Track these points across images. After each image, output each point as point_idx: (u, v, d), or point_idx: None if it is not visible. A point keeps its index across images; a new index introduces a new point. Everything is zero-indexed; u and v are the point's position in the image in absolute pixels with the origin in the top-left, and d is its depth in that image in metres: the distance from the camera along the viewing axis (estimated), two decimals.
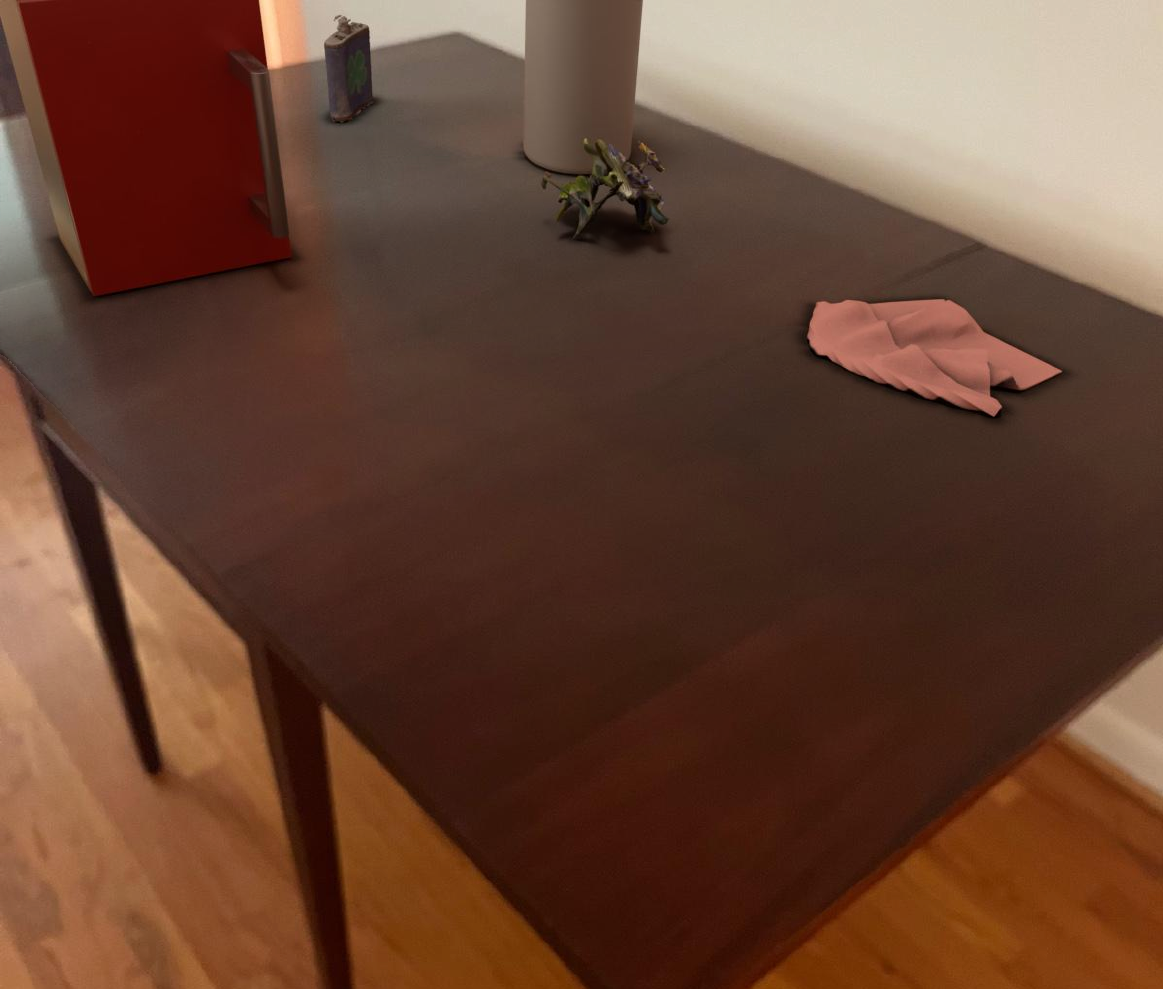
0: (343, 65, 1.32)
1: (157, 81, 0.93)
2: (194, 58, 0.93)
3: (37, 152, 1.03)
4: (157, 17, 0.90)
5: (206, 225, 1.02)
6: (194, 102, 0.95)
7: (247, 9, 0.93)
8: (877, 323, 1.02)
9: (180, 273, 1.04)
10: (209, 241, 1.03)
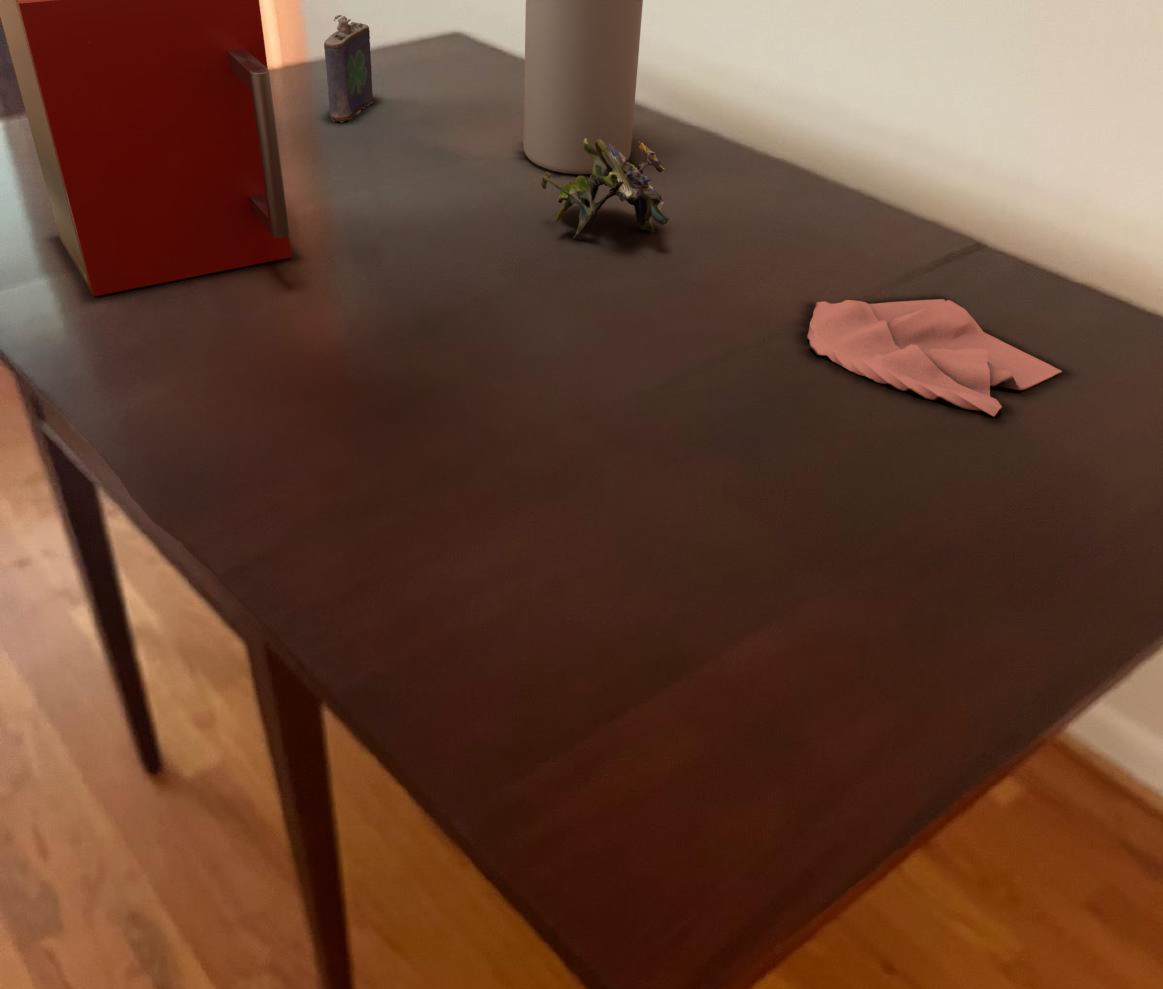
0: (343, 65, 1.32)
1: (157, 81, 0.93)
2: (194, 58, 0.93)
3: (37, 152, 1.03)
4: (157, 17, 0.90)
5: (206, 225, 1.02)
6: (194, 102, 0.95)
7: (247, 9, 0.93)
8: (877, 323, 1.02)
9: (180, 273, 1.04)
10: (209, 241, 1.03)
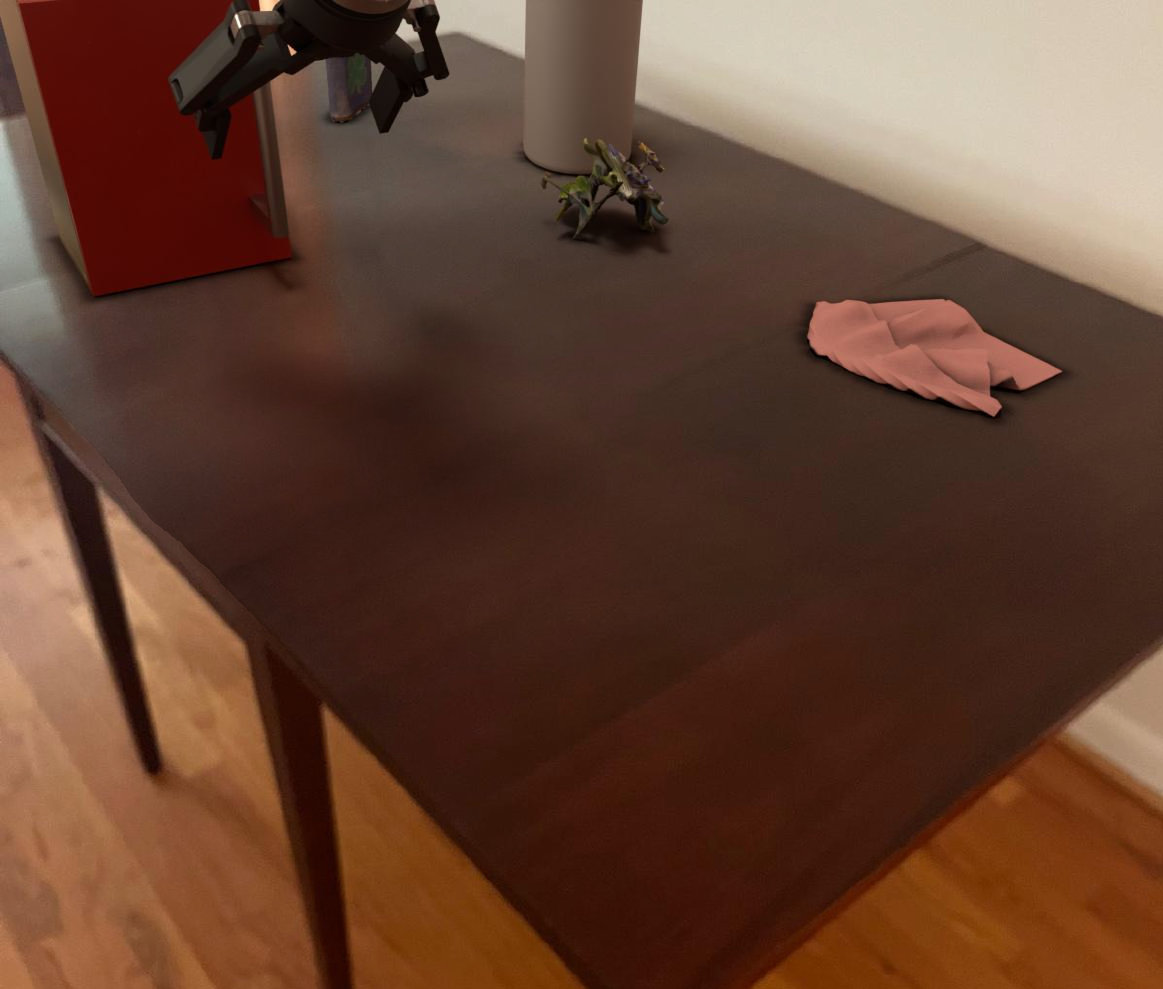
0: (343, 65, 1.32)
1: (157, 81, 0.93)
2: None
3: (37, 152, 1.03)
4: (157, 17, 0.90)
5: (206, 225, 1.02)
6: None
7: None
8: (877, 323, 1.02)
9: (180, 273, 1.04)
10: (209, 241, 1.03)
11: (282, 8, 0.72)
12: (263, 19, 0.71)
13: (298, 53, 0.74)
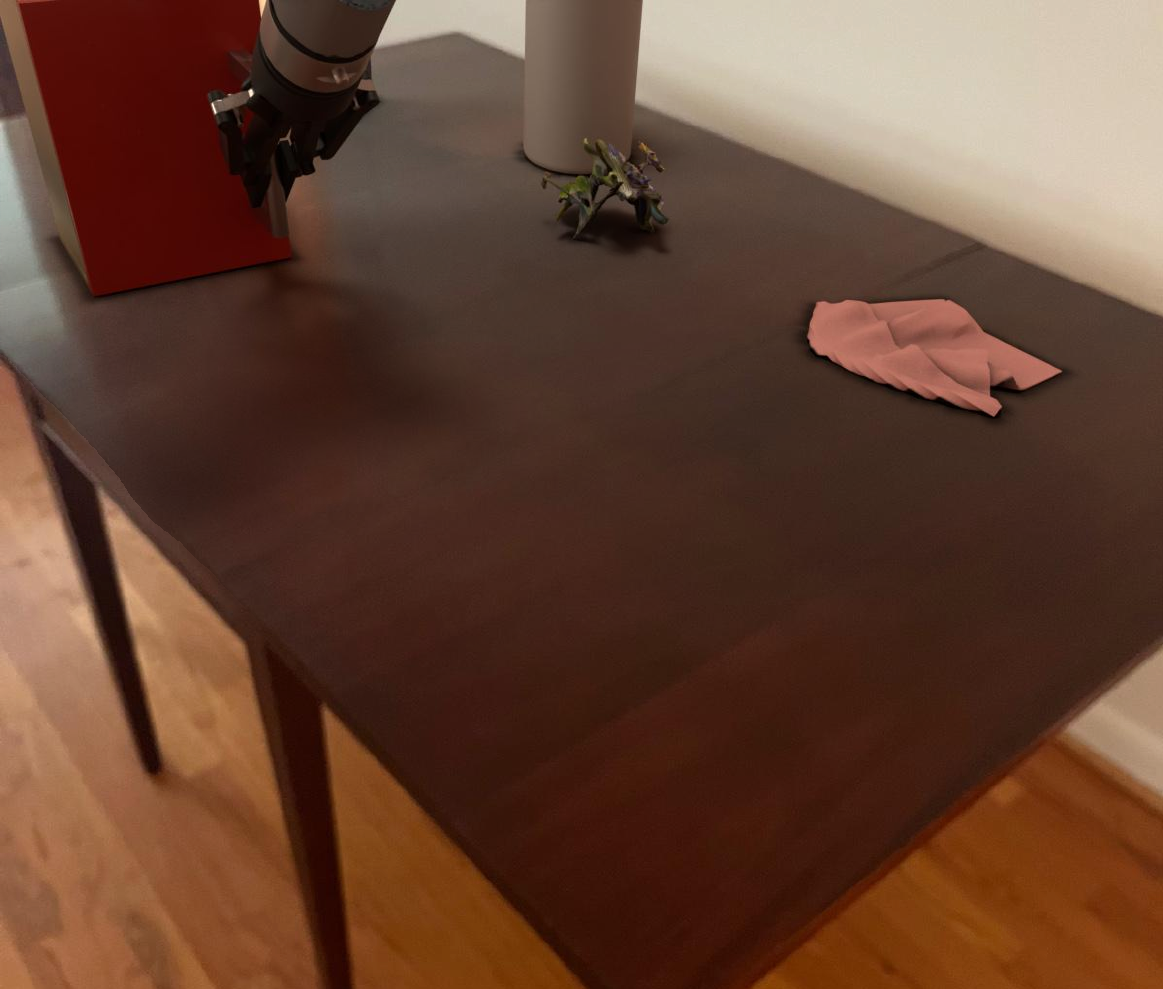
0: None
1: (157, 81, 0.93)
2: (194, 58, 0.93)
3: (37, 152, 1.03)
4: (157, 17, 0.90)
5: (206, 225, 1.02)
6: (194, 102, 0.95)
7: (247, 9, 0.93)
8: (877, 323, 1.02)
9: (180, 273, 1.04)
10: (209, 241, 1.03)
11: (250, 84, 0.82)
12: (231, 103, 0.83)
13: (274, 124, 0.86)
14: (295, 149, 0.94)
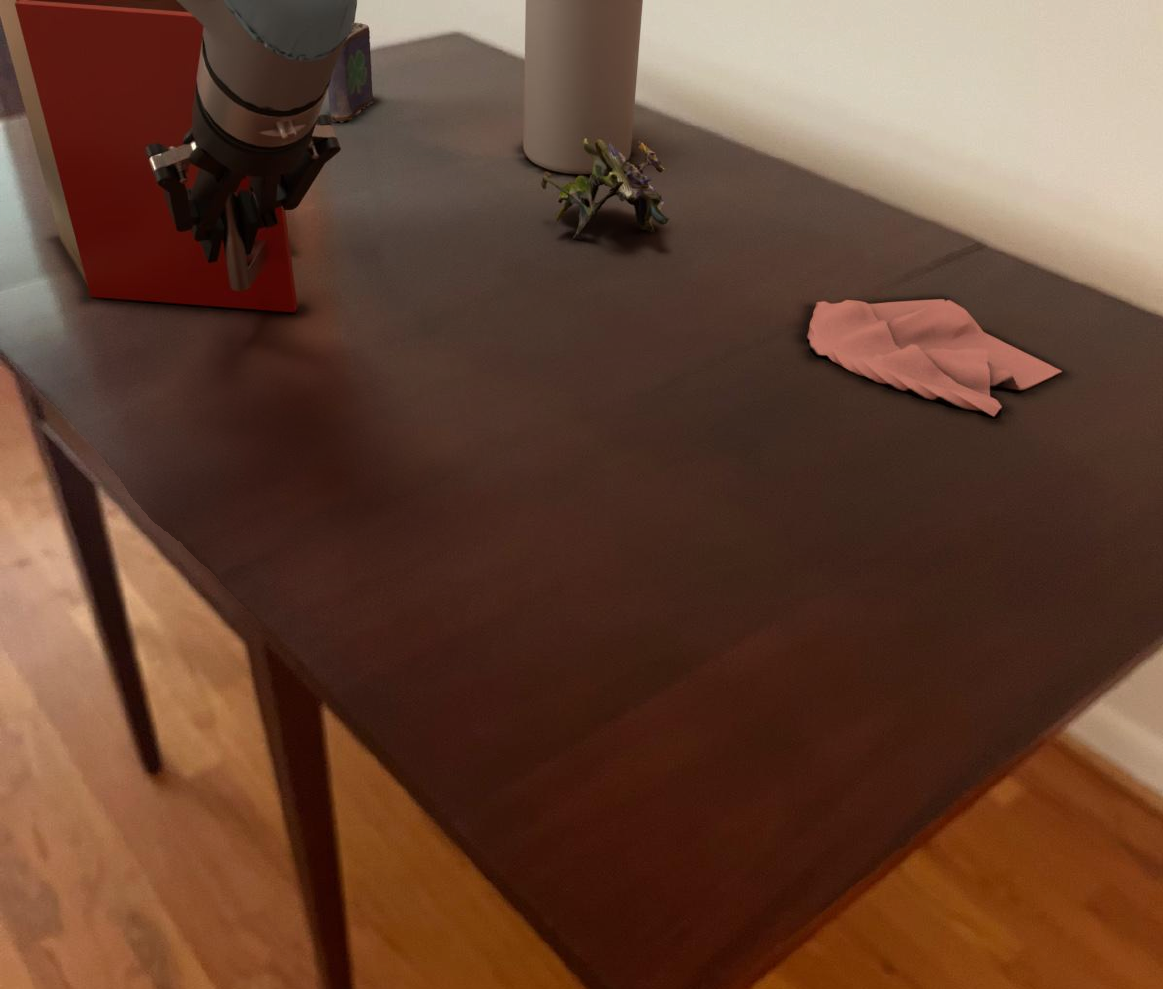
0: (343, 65, 1.32)
1: (151, 104, 0.89)
2: (189, 89, 0.88)
3: (37, 152, 1.03)
4: (150, 40, 0.86)
5: (202, 257, 0.97)
6: None
7: None
8: (877, 323, 1.02)
9: (176, 297, 1.00)
10: (206, 274, 0.98)
11: (192, 136, 0.74)
12: (172, 157, 0.75)
13: (222, 178, 0.78)
14: (255, 199, 0.86)
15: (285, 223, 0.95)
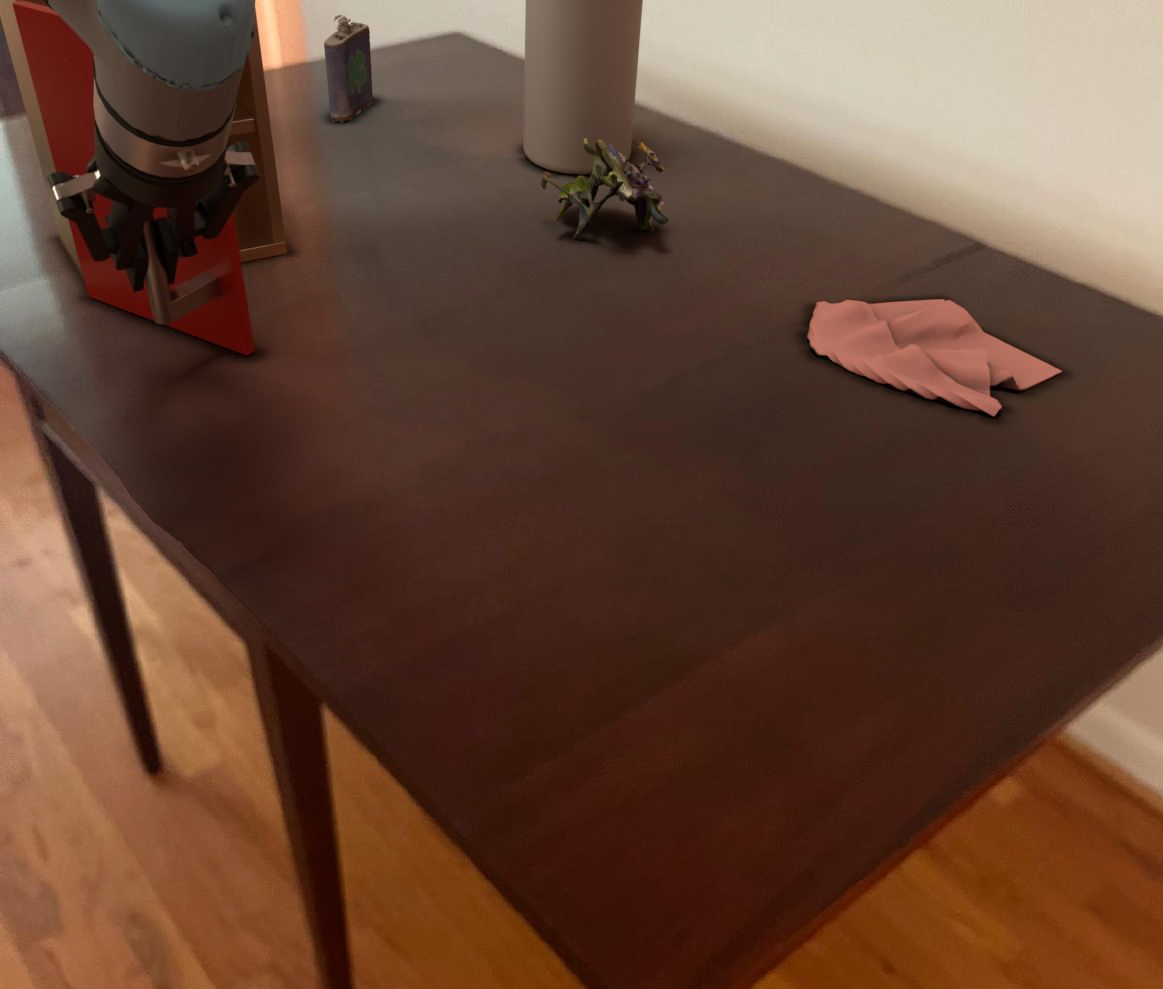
0: (343, 65, 1.32)
1: None
2: None
3: (37, 152, 1.03)
4: None
5: None
6: None
7: None
8: (877, 323, 1.02)
9: (152, 314, 0.98)
10: None
11: (96, 165, 0.70)
12: (75, 187, 0.70)
13: (132, 208, 0.73)
14: (173, 228, 0.82)
15: (237, 264, 0.90)
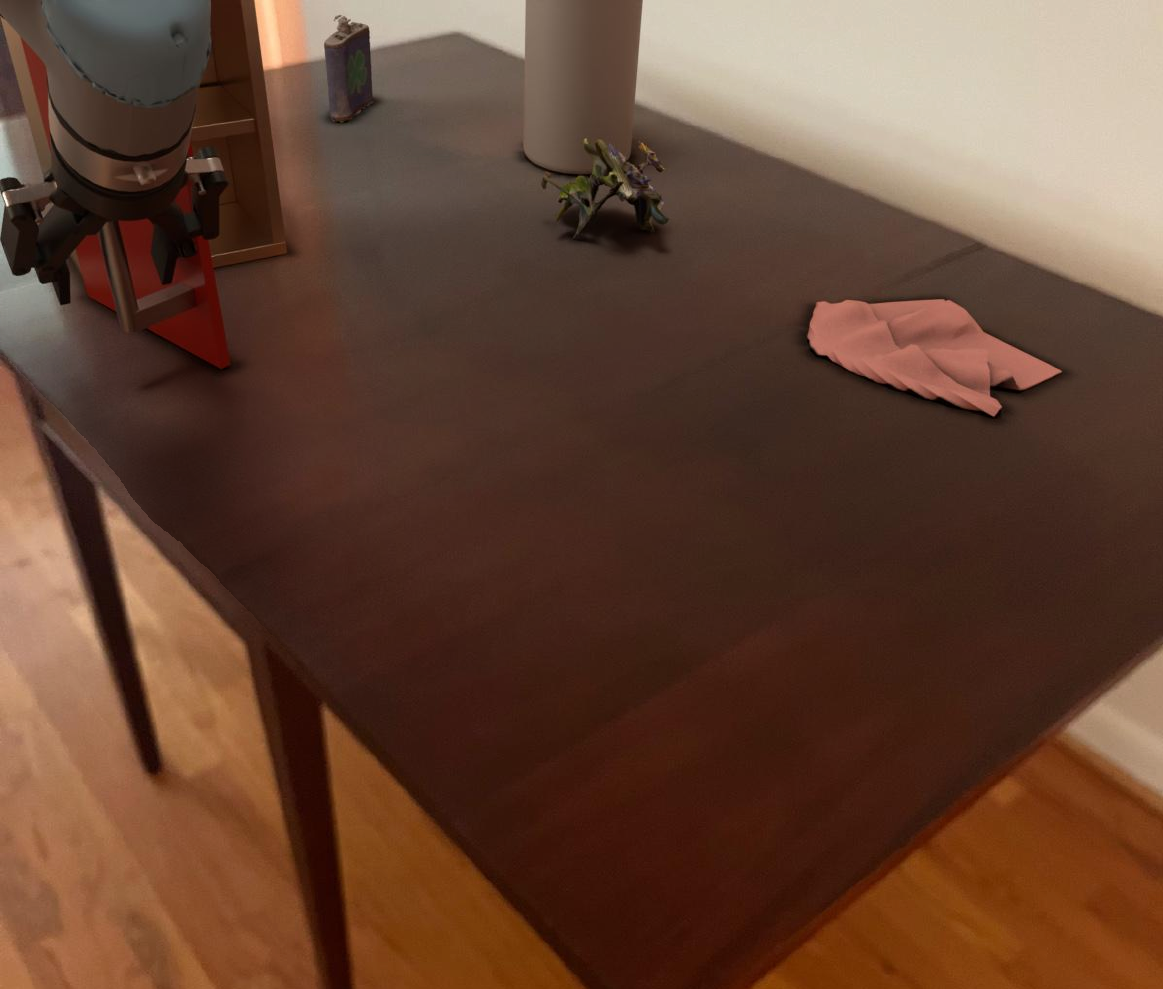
0: (343, 65, 1.32)
1: None
2: None
3: (37, 152, 1.03)
4: None
5: (152, 288, 0.93)
6: None
7: None
8: (877, 323, 1.02)
9: None
10: None
11: (53, 176, 0.69)
12: (30, 194, 0.69)
13: (84, 219, 0.72)
14: None
15: (210, 276, 0.88)
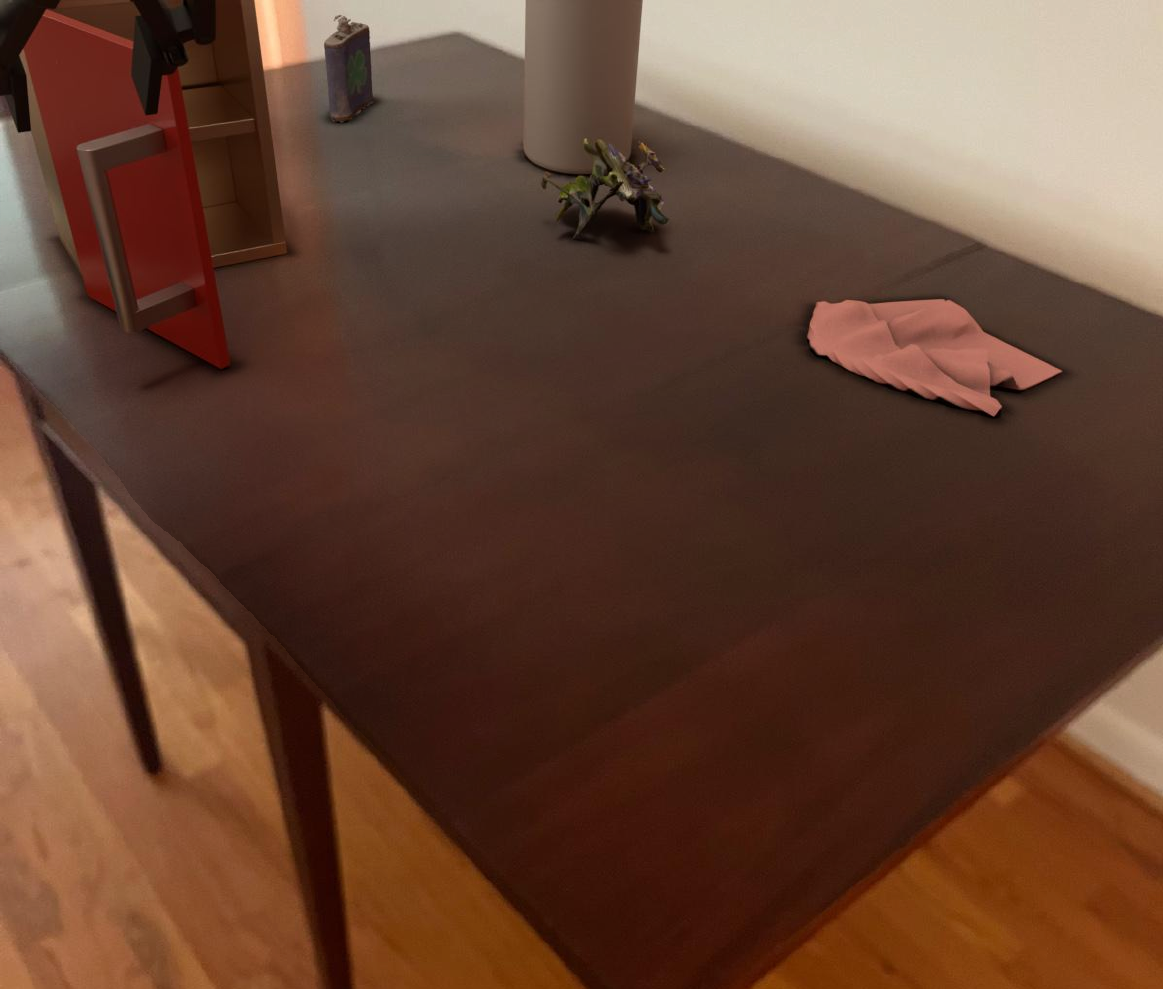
0: (343, 65, 1.32)
1: (103, 125, 0.85)
2: (126, 117, 0.83)
3: (37, 152, 1.03)
4: (96, 61, 0.82)
5: (152, 288, 0.93)
6: (131, 161, 0.85)
7: None
8: (877, 323, 1.02)
9: None
10: None
11: None
12: None
13: None
14: None
15: (210, 276, 0.88)
